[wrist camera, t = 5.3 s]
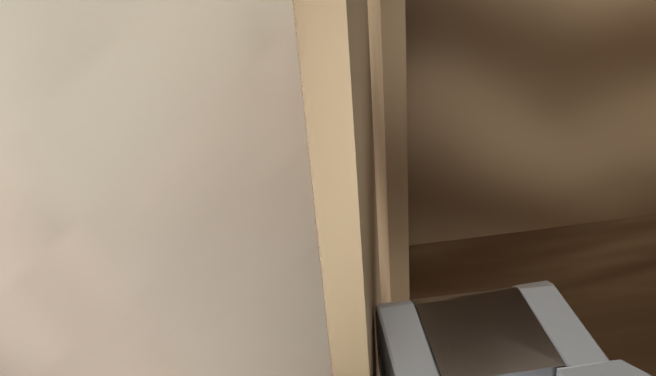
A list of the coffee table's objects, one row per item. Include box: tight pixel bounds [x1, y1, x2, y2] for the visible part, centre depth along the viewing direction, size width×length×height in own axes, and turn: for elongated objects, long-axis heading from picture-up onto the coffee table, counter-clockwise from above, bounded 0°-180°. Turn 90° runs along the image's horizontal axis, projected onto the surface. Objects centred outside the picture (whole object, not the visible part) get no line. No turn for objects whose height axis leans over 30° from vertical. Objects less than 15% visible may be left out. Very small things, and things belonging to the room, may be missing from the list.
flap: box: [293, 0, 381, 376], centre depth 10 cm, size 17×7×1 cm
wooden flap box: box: [367, 0, 656, 376], centre depth 16 cm, size 19×14×12 cm
